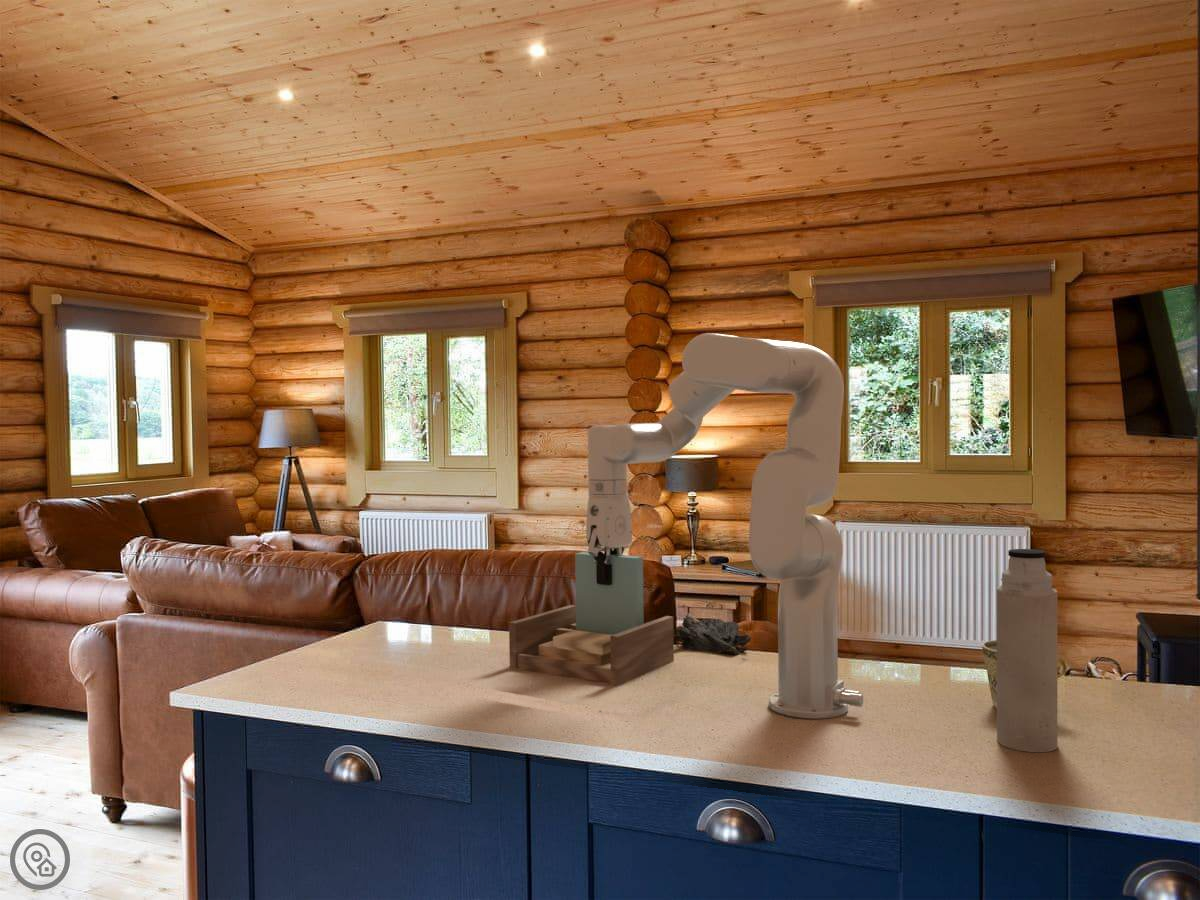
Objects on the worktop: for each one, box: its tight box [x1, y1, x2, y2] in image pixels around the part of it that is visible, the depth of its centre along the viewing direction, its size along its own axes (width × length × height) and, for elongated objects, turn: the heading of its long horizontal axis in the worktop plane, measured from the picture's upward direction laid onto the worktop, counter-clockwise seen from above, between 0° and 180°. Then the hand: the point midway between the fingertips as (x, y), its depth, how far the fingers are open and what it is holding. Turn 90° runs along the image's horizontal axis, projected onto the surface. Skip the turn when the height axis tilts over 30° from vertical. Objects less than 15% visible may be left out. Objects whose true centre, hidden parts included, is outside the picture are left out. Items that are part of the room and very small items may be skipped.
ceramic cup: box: [981, 639, 1067, 709], centre depth 152 cm, size 13×10×10 cm
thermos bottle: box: [996, 548, 1059, 753], centre depth 136 cm, size 8×8×28 cm
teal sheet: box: [574, 551, 645, 635], centre depth 184 cm, size 14×2×20 cm, turn 57°
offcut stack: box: [539, 630, 611, 667], centre depth 176 cm, size 16×9×6 cm, turn 57°
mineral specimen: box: [674, 612, 752, 656], centre depth 192 cm, size 15×13×10 cm
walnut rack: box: [508, 604, 675, 687], centre depth 179 cm, size 24×20×10 cm
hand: (608, 582), depth 184 cm, fingers closed on teal sheet, 2 cm apart
